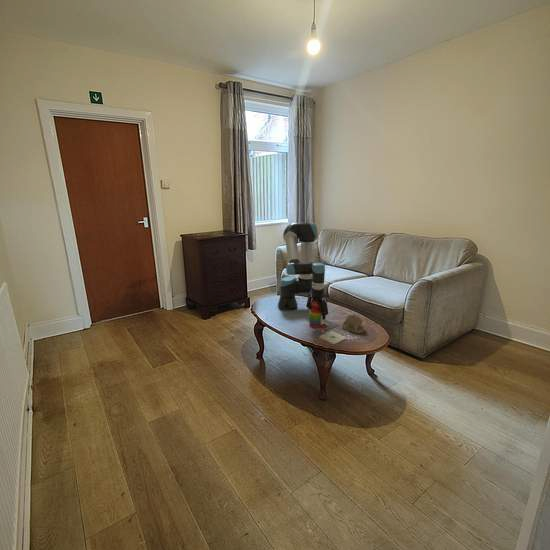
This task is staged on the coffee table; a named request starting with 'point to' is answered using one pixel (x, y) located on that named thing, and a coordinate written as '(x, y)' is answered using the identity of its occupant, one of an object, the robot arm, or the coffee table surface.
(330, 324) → the pad
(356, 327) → the beige lumpy chunk
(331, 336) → the pad
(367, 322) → the coffee table surface
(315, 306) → the stacking bear
